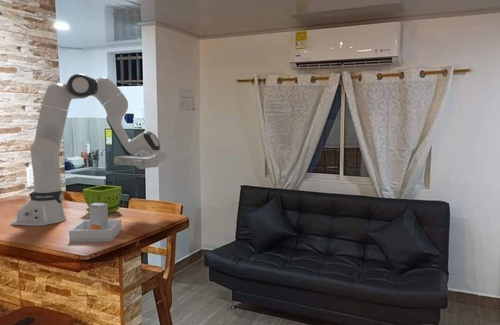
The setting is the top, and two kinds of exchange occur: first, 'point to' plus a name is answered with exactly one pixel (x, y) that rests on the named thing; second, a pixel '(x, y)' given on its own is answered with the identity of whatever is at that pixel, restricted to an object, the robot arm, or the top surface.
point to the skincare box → (98, 216)
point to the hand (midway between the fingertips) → (124, 162)
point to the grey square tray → (94, 232)
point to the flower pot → (103, 196)
